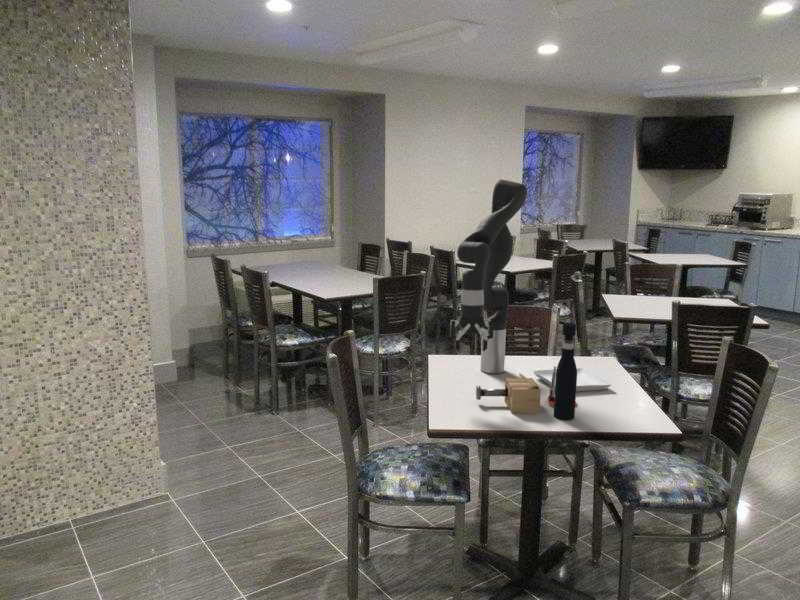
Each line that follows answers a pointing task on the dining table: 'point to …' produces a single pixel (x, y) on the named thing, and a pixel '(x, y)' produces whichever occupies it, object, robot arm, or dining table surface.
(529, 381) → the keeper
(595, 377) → the salad plate
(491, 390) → the pin
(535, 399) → the block
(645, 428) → the dining table surface
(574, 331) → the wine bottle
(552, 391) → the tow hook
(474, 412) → the dining table surface
